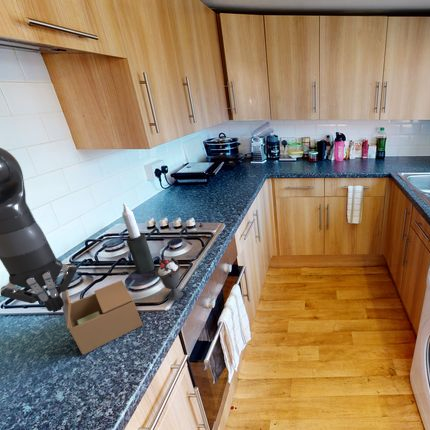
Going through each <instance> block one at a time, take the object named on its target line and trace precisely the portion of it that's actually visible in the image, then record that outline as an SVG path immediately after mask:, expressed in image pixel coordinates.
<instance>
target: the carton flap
mask: <svg viewBox="0 0 430 430" xmlns="http://www.w3.org/2000/svg"><path fill="white" fill-rule="evenodd" d="M61 298H62V300H63V303H64V306H63V307H61V308H62V309H61V310H62V312H63V317H64V321H65V325H66V328H67V329H69V325H70V308H71V303H72V302H71V299H70V295H69V290H68V289H67V290H66V291H64V292H61Z"/></svg>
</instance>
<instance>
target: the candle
mask: <svg viewBox="0 0 430 430" xmlns="http://www.w3.org/2000/svg"><path fill="white" fill-rule="evenodd" d="M122 206H123V212H122V219H123V221H124V224H125V227H126V230H127V234H128V236H126V245H127V248H128V250H129V252H130V255H131V259H132V261H133V264H134V266H135V269H136V272H137V274H139V275H141V274H146V273H149V272H152V271H154V270H155V263H154V260H153V256H152V253H151V249H150V247H149V244H148V241H147V237H146V234H145V233H144V232H140V230H139V226H138V224H137V220H136V217H135V215H134V212H133V211H132V210H131V209H130V208H129V206H127V204H126V203H123V204H122Z"/></svg>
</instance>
